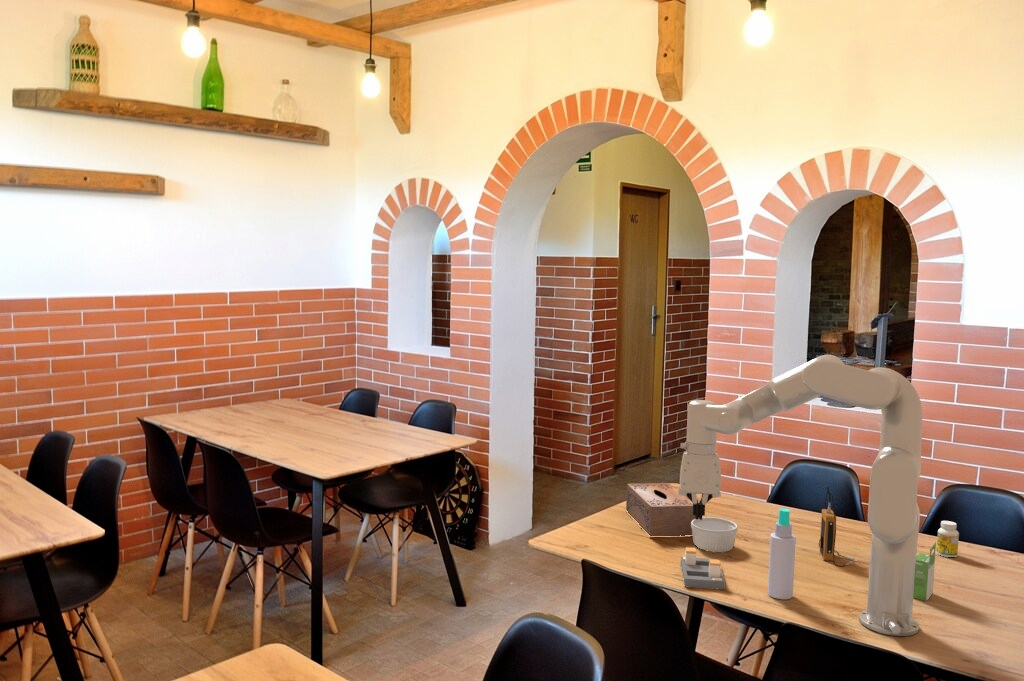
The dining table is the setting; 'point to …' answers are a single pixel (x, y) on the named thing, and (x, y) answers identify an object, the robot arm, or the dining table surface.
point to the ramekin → (714, 534)
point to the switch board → (701, 575)
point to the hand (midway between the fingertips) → (698, 517)
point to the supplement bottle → (947, 539)
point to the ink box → (924, 575)
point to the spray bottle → (782, 558)
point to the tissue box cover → (660, 509)
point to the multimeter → (829, 533)
